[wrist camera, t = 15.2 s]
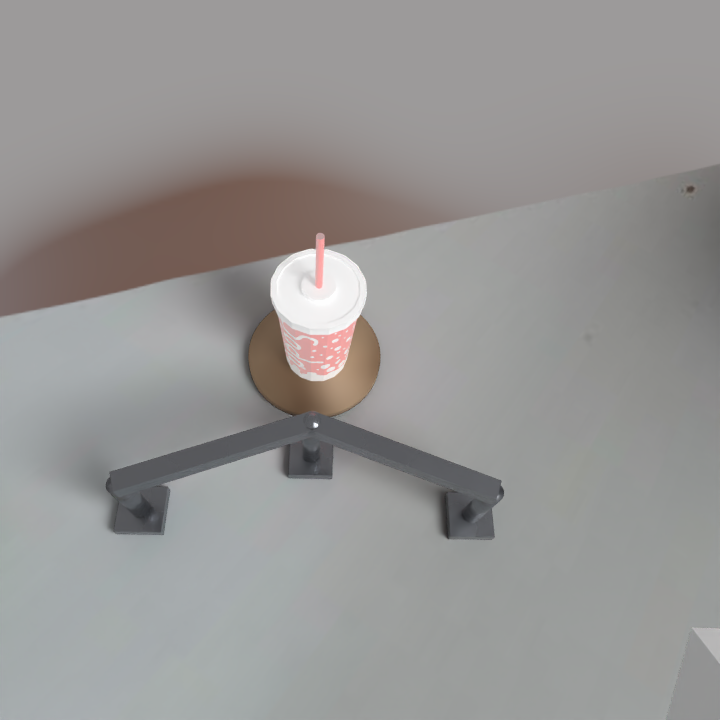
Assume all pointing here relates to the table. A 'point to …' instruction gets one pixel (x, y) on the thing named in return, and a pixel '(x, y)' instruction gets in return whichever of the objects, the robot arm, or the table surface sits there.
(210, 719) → the table surface
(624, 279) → the table surface
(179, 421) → the table surface
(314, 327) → the beverage cup
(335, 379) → the walnut pad
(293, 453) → the bent rail
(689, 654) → the robot arm
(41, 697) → the table surface
